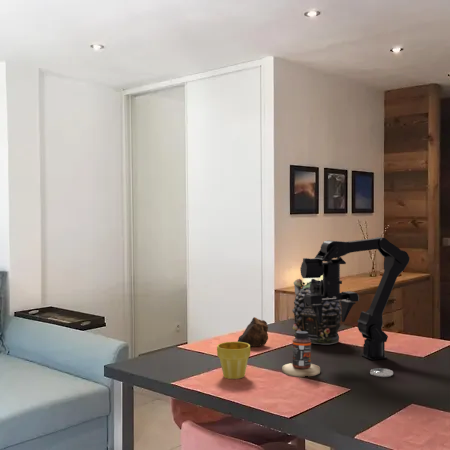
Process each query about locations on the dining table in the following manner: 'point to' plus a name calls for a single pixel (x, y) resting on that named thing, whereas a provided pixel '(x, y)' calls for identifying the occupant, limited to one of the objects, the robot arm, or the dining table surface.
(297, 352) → the supplement bottle
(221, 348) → the plant pot
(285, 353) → the dining table surface
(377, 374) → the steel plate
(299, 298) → the decorative house
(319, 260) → the robot arm
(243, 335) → the decorative rock
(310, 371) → the coaster
